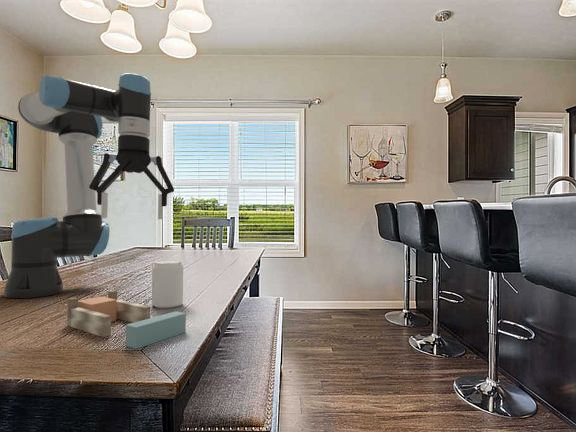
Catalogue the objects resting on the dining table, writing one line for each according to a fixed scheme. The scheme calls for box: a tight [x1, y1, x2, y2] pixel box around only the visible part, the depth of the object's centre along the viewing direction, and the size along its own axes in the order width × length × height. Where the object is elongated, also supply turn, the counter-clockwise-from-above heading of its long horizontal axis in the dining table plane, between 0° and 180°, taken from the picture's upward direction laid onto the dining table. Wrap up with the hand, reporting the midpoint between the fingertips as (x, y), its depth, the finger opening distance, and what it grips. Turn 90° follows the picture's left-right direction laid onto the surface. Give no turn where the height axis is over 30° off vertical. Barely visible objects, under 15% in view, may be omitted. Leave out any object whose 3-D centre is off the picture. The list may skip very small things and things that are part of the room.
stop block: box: [125, 310, 187, 350], centre depth 74 cm, size 3×12×4 cm, turn 148°
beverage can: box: [151, 259, 184, 309], centre depth 101 cm, size 8×8×12 cm
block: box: [78, 296, 117, 323], centre depth 86 cm, size 6×6×5 cm
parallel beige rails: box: [66, 289, 151, 338], centre depth 83 cm, size 14×11×6 cm
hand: (132, 218), depth 96 cm, fingers open, 13 cm apart
